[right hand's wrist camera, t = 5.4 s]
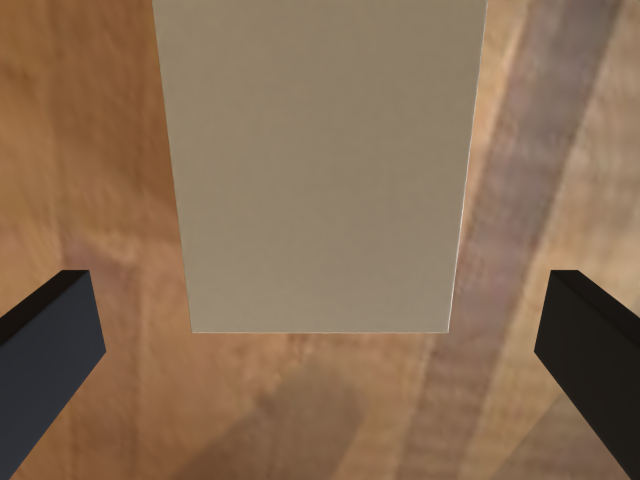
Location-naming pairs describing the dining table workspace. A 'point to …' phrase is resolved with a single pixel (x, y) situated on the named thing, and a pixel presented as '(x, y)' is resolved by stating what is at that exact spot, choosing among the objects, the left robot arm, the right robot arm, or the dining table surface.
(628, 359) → the right robot arm
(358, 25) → the cabinet
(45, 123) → the dining table surface
